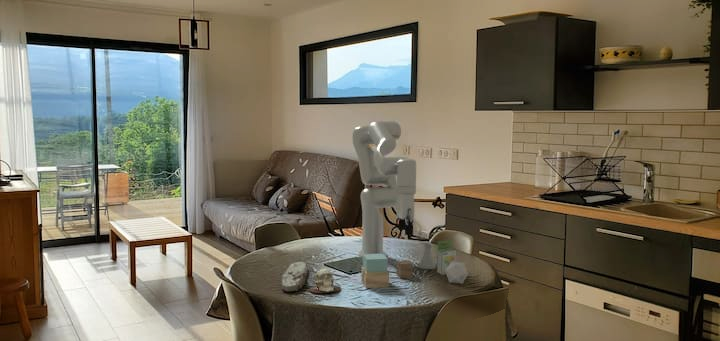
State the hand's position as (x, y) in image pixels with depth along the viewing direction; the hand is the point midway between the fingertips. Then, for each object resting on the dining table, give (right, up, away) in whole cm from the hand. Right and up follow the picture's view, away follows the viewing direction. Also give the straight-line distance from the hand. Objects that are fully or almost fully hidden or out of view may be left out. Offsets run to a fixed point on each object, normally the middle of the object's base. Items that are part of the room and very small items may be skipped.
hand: (405, 232), depth 236 cm
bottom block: (-13, -19, -8) cm, 25 cm away
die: (+20, -19, -5) cm, 28 cm away
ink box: (+17, -18, +6) cm, 26 cm away
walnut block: (0, -18, +2) cm, 18 cm away
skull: (-31, -20, -16) cm, 41 cm away
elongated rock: (-44, -19, -3) cm, 48 cm away
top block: (-13, -13, -9) cm, 20 cm away
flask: (+10, -17, +15) cm, 25 cm away
